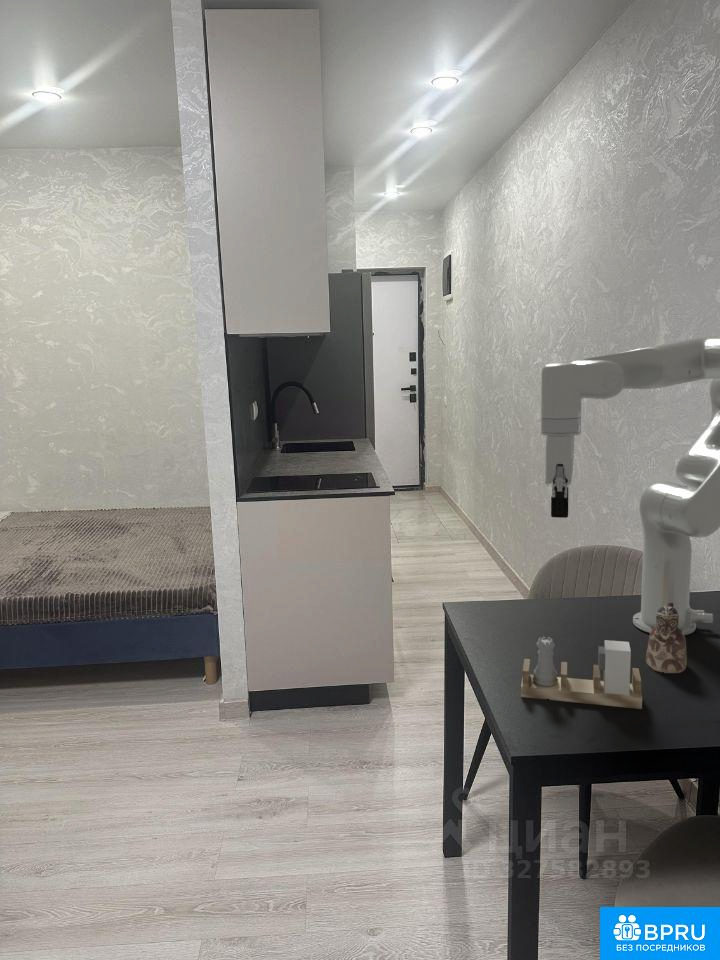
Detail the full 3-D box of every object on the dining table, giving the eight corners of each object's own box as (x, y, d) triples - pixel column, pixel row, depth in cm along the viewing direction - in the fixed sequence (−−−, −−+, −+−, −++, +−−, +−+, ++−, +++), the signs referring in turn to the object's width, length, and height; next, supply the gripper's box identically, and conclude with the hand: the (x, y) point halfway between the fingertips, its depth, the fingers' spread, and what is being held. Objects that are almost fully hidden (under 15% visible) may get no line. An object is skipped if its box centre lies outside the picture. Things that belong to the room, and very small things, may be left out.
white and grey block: (627, 684, 122) (628, 641, 121) (629, 695, 118) (630, 651, 117) (597, 681, 124) (598, 639, 122) (598, 692, 120) (599, 649, 118)
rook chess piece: (559, 688, 122) (559, 645, 120) (532, 686, 123) (533, 644, 121) (557, 676, 126) (557, 635, 125) (532, 675, 127) (532, 634, 126)
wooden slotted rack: (639, 695, 122) (639, 668, 121) (641, 709, 118) (642, 681, 117) (522, 683, 128) (522, 658, 127) (521, 696, 123) (521, 670, 122)
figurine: (640, 666, 133) (642, 607, 131) (653, 653, 138) (655, 596, 136) (679, 676, 128) (682, 615, 126) (691, 663, 134) (694, 603, 131)
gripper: (542, 422, 146) (542, 501, 149) (539, 432, 129) (538, 521, 133) (580, 421, 144) (578, 502, 147) (581, 431, 127) (580, 522, 130)
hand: (559, 511), depth 140 cm, fingers open, 9 cm apart
